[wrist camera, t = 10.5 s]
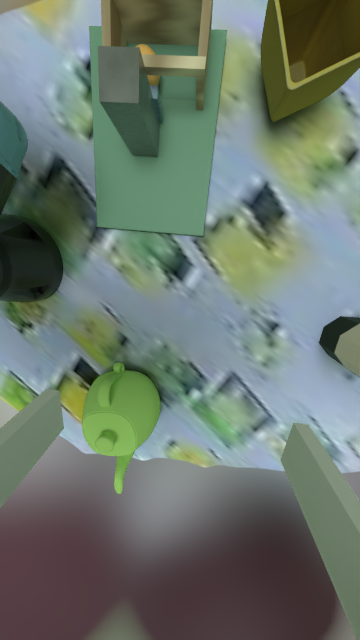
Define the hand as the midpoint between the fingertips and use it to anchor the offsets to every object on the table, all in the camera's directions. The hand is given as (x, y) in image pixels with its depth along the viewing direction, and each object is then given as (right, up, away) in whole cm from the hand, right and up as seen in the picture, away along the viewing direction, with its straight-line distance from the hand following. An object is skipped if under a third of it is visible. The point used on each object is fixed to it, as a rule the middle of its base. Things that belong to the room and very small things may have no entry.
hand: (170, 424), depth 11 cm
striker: (-4, +33, +17) cm, 37 cm away
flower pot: (+15, +37, +15) cm, 43 cm away
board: (-3, +33, +18) cm, 37 cm away
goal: (-2, +40, +16) cm, 43 cm away
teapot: (-11, -12, +33) cm, 37 cm away
